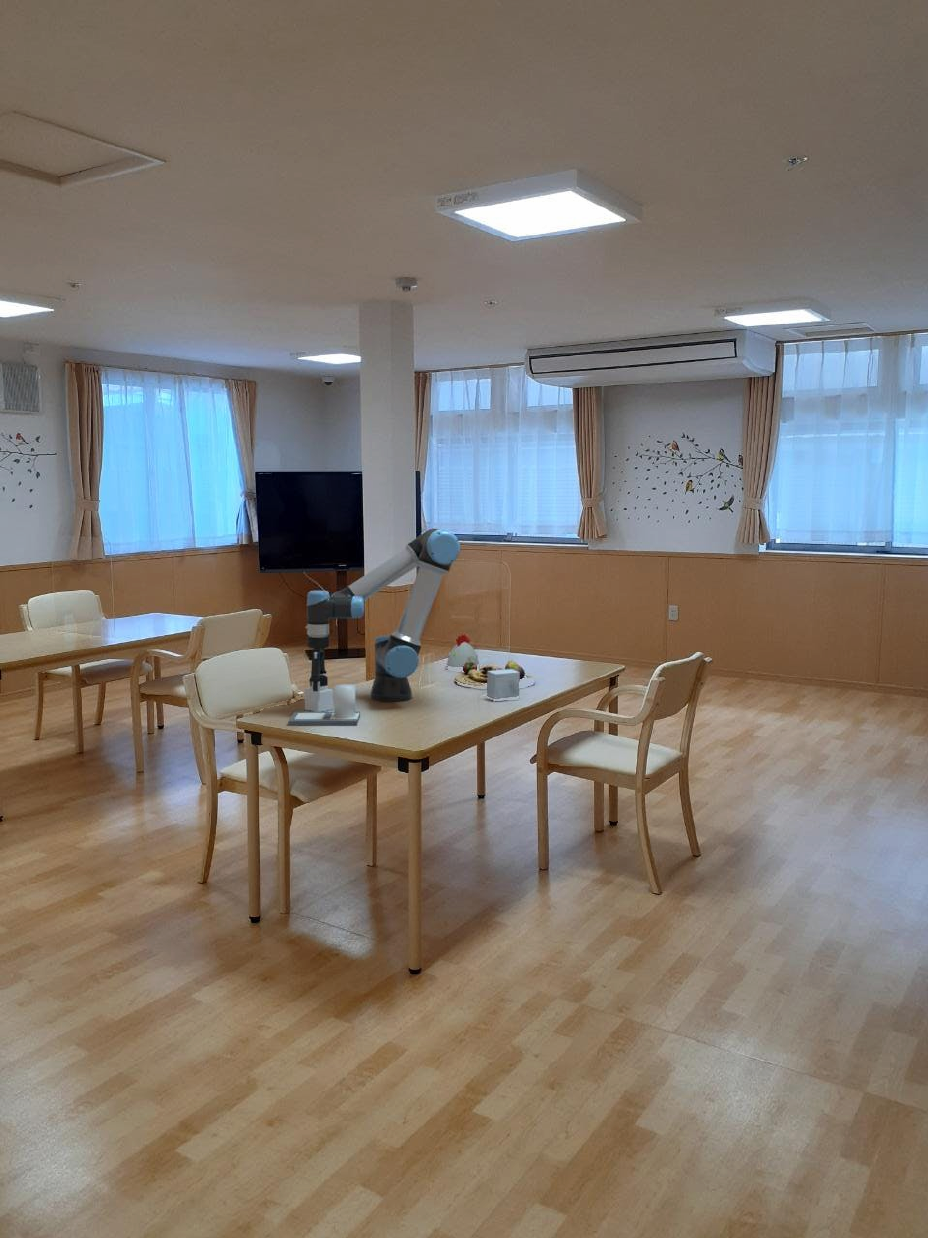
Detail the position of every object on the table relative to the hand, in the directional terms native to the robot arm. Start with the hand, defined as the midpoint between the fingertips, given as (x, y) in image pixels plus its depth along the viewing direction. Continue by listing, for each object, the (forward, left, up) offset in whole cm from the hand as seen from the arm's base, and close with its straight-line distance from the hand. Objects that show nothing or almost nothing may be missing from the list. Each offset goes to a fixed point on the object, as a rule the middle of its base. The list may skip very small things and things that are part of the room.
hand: (318, 696), depth 352 cm
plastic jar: (-11, +17, -3) cm, 20 cm away
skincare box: (-65, -17, -5) cm, 68 cm away
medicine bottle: (0, 0, -5) cm, 5 cm away
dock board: (-4, +17, -5) cm, 18 cm away
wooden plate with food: (-64, -50, -5) cm, 81 cm away
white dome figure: (-52, -79, -5) cm, 95 cm away
